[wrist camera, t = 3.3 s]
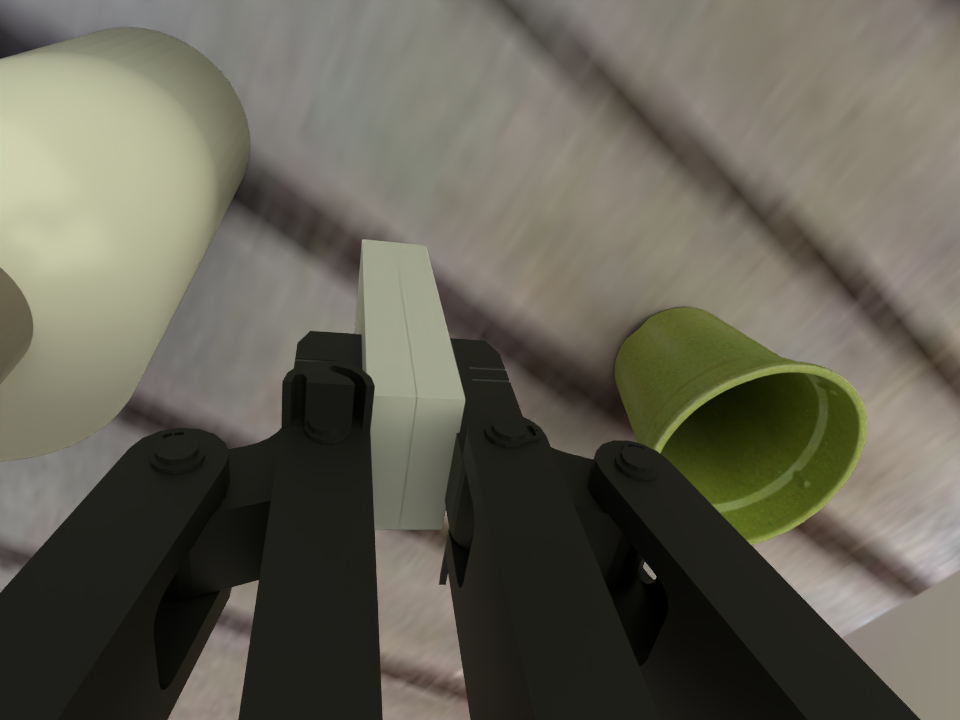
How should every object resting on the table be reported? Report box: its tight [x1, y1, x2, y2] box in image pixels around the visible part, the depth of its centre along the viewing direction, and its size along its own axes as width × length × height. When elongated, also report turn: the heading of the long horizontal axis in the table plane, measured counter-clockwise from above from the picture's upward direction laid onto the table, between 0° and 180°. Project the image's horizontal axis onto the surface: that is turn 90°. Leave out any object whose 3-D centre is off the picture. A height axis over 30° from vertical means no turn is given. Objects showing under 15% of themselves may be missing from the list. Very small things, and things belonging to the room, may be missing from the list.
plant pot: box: [614, 307, 867, 545], centre depth 30 cm, size 9×9×9 cm
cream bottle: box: [0, 27, 250, 461], centre depth 16 cm, size 7×7×20 cm
